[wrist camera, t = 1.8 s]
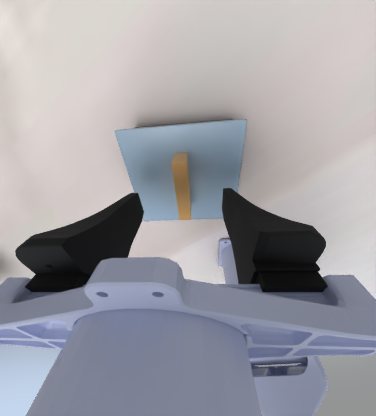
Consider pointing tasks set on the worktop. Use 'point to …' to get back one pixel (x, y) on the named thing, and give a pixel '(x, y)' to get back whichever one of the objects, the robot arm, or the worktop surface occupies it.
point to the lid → (183, 167)
